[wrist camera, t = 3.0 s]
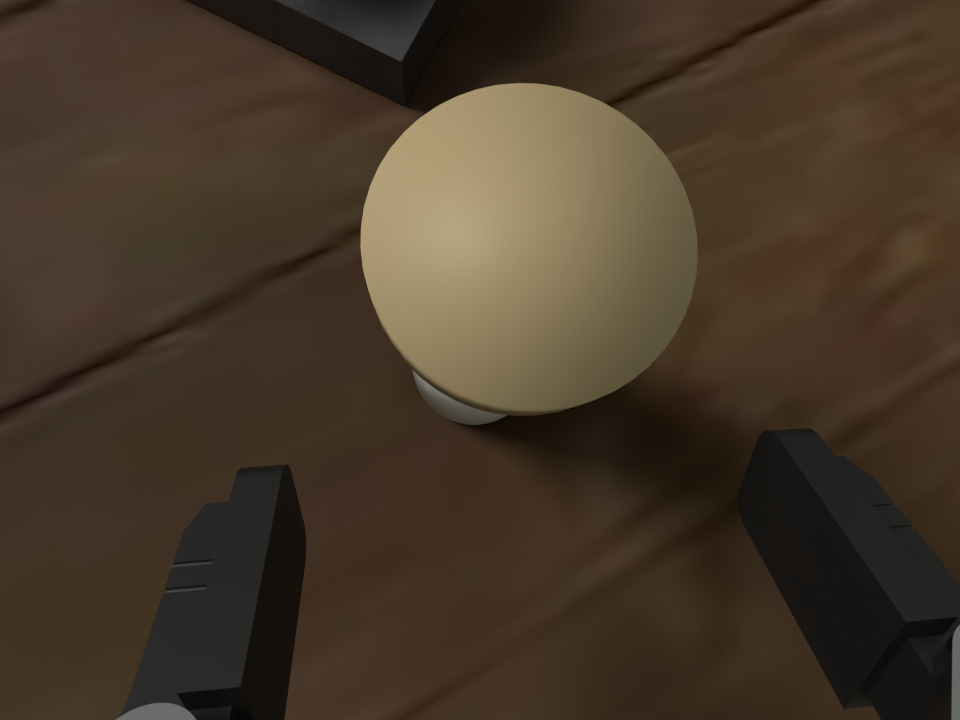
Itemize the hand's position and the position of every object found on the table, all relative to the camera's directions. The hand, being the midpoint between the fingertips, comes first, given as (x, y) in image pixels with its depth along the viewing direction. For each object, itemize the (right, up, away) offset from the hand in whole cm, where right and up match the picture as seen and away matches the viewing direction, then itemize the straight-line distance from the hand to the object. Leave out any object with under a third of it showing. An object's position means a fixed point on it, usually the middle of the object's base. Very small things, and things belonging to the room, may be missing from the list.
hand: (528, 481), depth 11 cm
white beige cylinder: (-1, +2, +10) cm, 10 cm away
